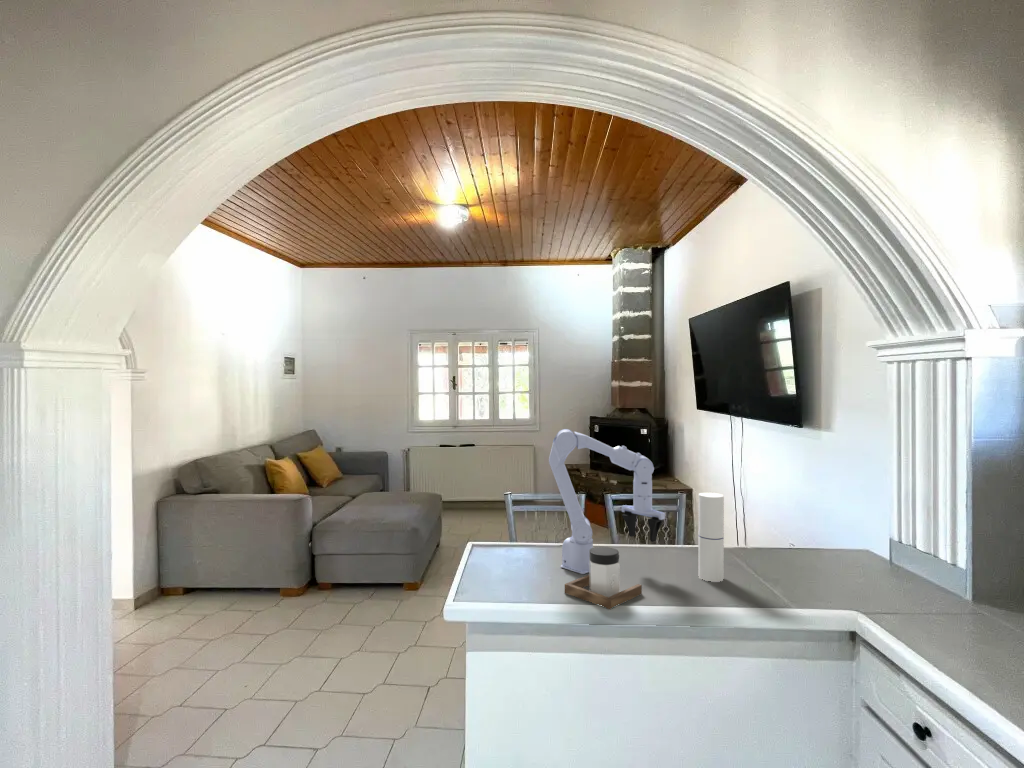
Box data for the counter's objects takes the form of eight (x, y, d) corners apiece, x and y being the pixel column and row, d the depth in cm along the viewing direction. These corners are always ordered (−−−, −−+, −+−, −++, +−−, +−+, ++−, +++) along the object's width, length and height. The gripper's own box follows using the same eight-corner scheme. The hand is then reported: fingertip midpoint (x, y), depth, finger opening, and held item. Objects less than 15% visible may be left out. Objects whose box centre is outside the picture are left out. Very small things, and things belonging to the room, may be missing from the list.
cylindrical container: (697, 580, 164) (697, 496, 164) (699, 572, 171) (699, 491, 171) (723, 583, 161) (723, 498, 161) (723, 575, 168) (724, 493, 168)
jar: (600, 602, 148) (600, 557, 148) (582, 591, 155) (582, 549, 155) (626, 595, 152) (626, 552, 152) (607, 586, 160) (607, 544, 159)
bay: (564, 592, 155) (564, 583, 155) (597, 579, 165) (597, 571, 165) (609, 609, 143) (609, 599, 143) (641, 594, 154) (641, 585, 154)
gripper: (670, 496, 170) (670, 540, 170) (630, 490, 181) (630, 531, 181) (657, 500, 165) (657, 545, 166) (617, 493, 176) (617, 535, 176)
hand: (642, 538), depth 173 cm, fingers open, 7 cm apart
